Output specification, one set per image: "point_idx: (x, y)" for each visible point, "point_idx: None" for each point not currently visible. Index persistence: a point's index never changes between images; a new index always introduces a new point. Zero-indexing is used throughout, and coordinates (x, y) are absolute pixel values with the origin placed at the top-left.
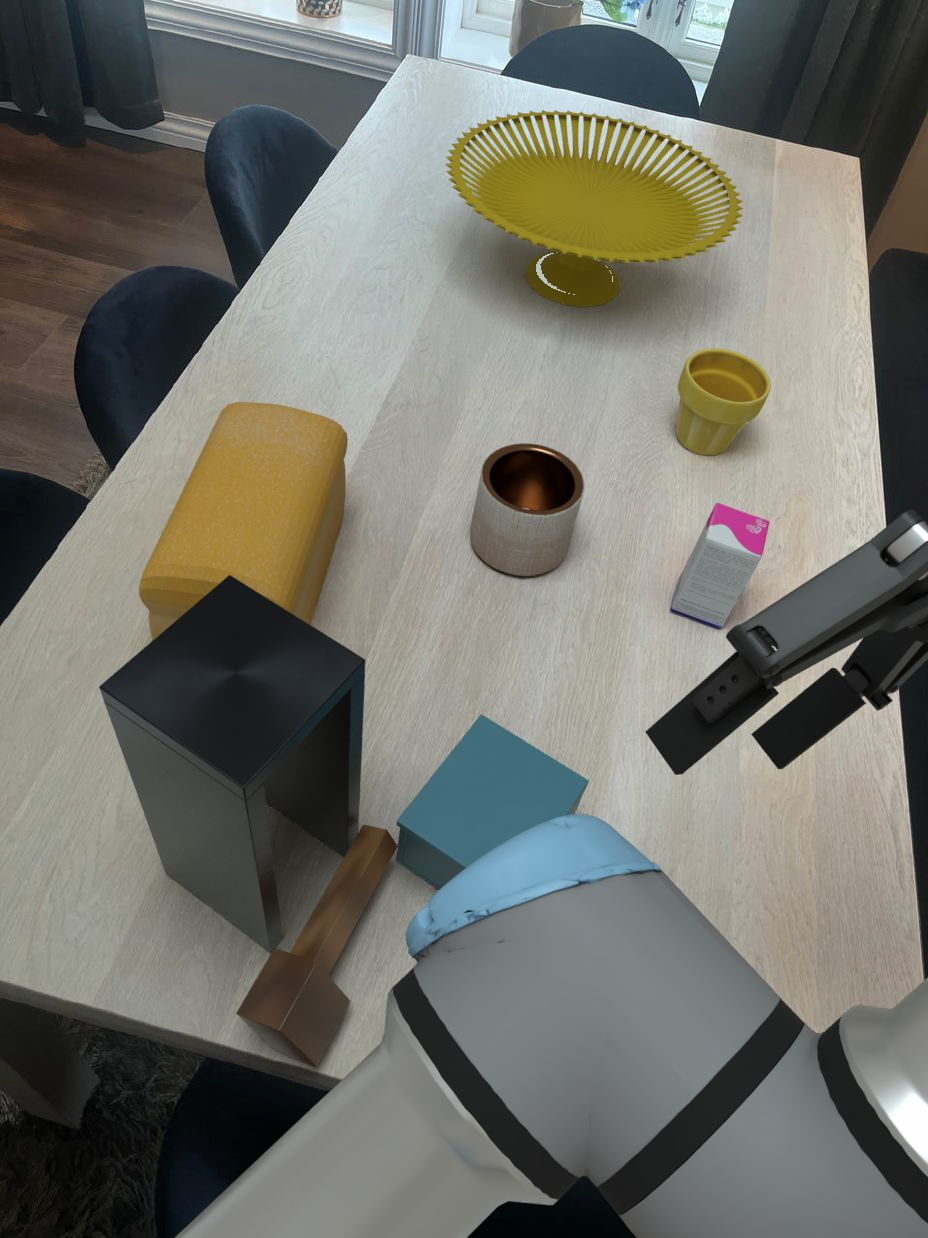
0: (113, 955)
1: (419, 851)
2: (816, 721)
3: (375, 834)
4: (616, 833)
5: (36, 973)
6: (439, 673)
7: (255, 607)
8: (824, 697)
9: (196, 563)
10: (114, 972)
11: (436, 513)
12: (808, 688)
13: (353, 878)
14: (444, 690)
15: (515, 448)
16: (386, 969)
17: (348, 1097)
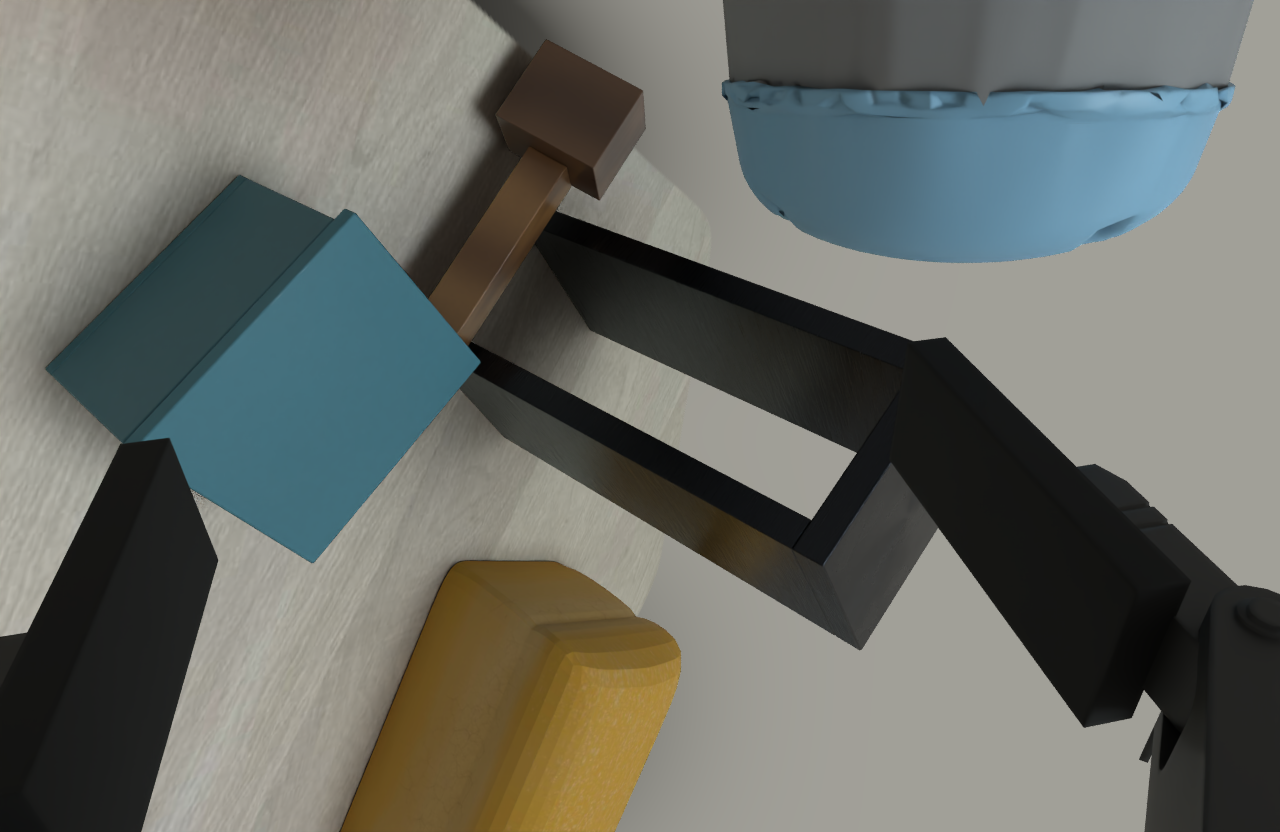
0: (653, 228)
1: None
2: (123, 642)
3: None
4: (1008, 204)
5: (701, 221)
6: (237, 642)
7: (863, 612)
8: (120, 762)
9: (662, 685)
10: (656, 210)
11: None
12: (152, 783)
13: (495, 284)
14: (236, 612)
15: None
16: (418, 152)
17: None
